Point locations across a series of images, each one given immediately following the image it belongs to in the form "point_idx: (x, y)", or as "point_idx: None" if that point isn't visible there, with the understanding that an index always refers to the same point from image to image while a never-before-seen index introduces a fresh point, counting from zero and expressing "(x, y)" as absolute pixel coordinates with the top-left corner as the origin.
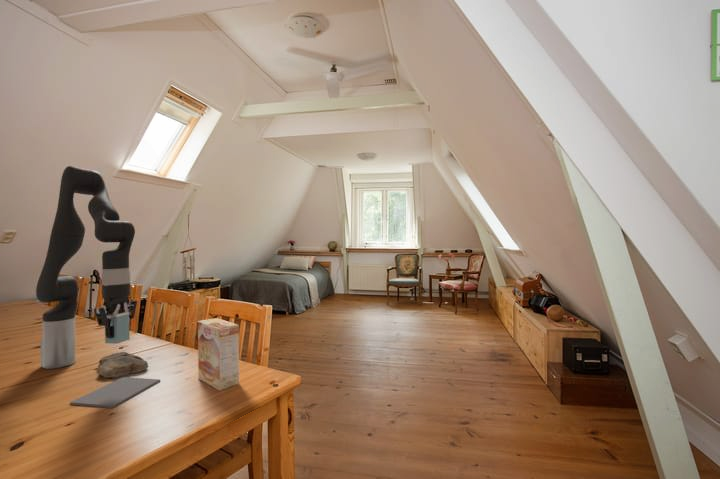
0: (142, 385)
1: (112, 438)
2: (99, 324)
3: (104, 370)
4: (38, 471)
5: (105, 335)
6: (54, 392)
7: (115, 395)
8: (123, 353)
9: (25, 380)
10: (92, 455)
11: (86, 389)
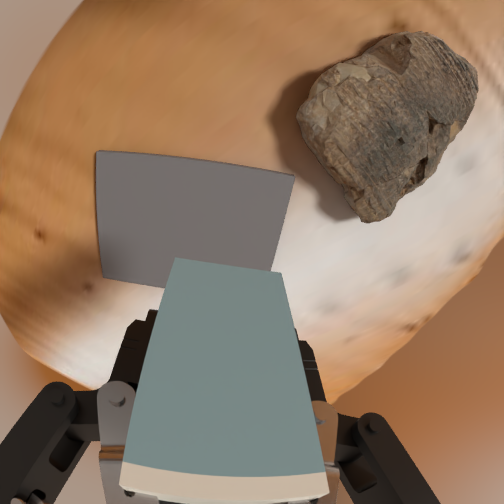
0: None
1: (46, 326)
2: (46, 396)
3: (307, 105)
4: None
5: (162, 297)
6: (180, 19)
7: (149, 248)
8: (455, 107)
9: None
10: (21, 322)
11: (202, 106)
